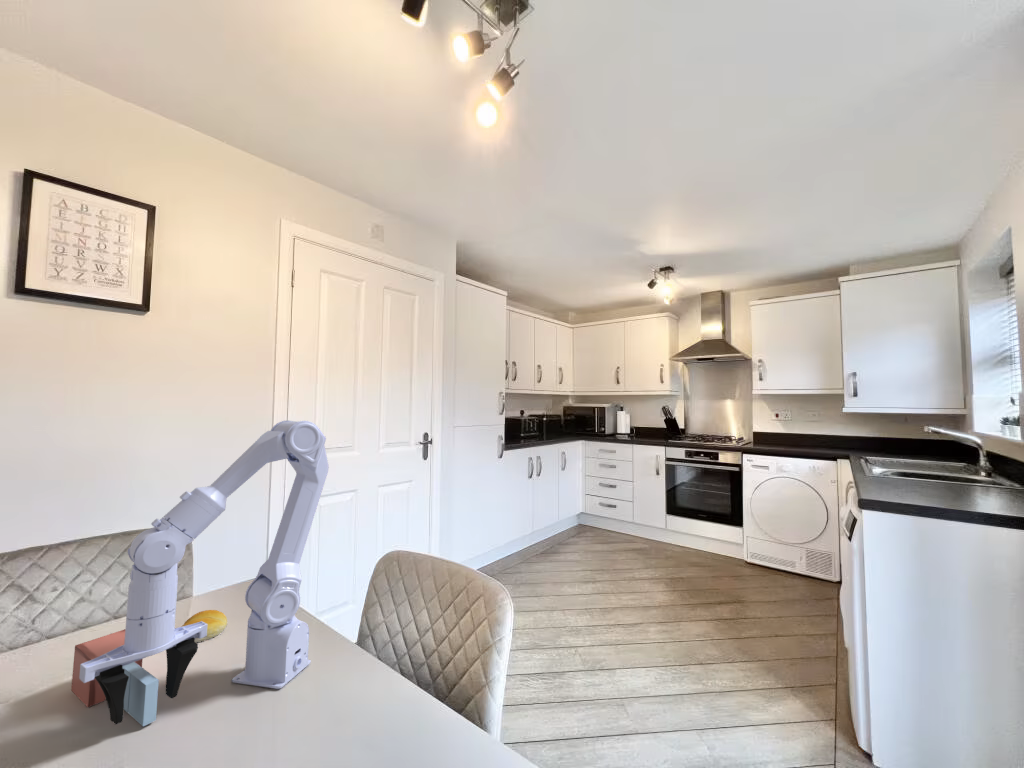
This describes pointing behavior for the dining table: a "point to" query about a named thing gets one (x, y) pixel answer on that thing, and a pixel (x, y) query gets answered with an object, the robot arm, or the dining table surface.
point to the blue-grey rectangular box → (140, 694)
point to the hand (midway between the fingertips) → (145, 707)
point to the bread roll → (209, 623)
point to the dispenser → (87, 651)
